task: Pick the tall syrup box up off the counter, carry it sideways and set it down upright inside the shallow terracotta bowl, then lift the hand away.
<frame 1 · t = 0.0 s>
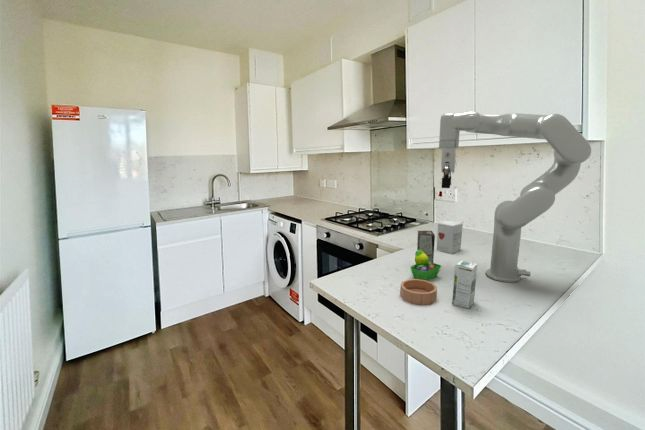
hand: (446, 186, 133), 37 cm above the countertop, tool pointing down, fingers open, 9 cm apart
bowl: (418, 296, 115), on the countertop
coffee box: (424, 267, 144), on the countertop
fruit basket: (423, 277, 132), on the countertop
supplement box: (448, 250, 166), on the countertop
syrup box: (463, 304, 110), on the countertop
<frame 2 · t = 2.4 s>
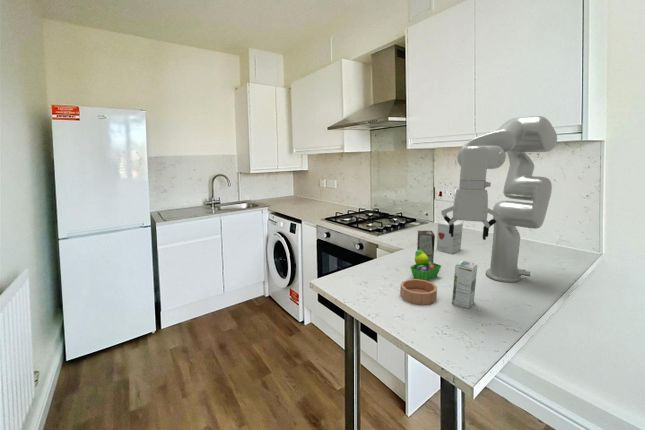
hand: (467, 237, 104), 24 cm above the countertop, tool pointing down, fingers open, 9 cm apart
nothing on the countertop moved.
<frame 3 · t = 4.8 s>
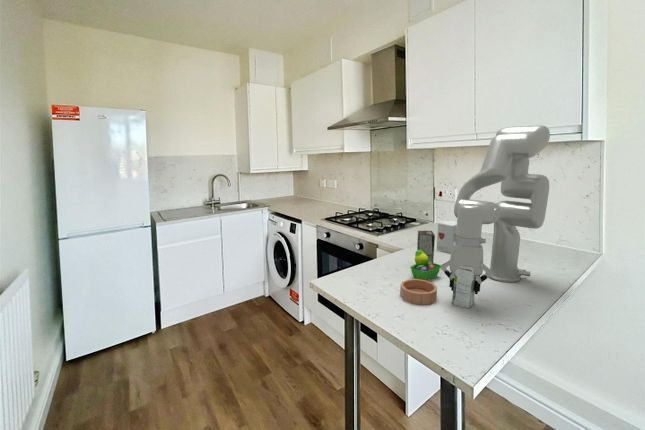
hand: (464, 290, 109), 5 cm above the countertop, tool pointing down, fingers closed on syrup box, 6 cm apart
syrup box: (463, 304, 110), on the countertop, touching gripper
everything else where it was.
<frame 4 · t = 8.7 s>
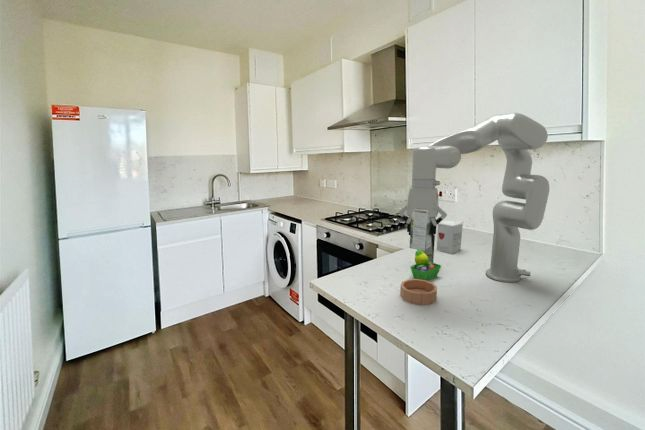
hand: (421, 234, 111), 23 cm above the countertop, tool pointing down, fingers closed on syrup box, 6 cm apart
syrup box: (420, 248, 112), point 18 cm above the countertop, touching gripper
everything else where it was.
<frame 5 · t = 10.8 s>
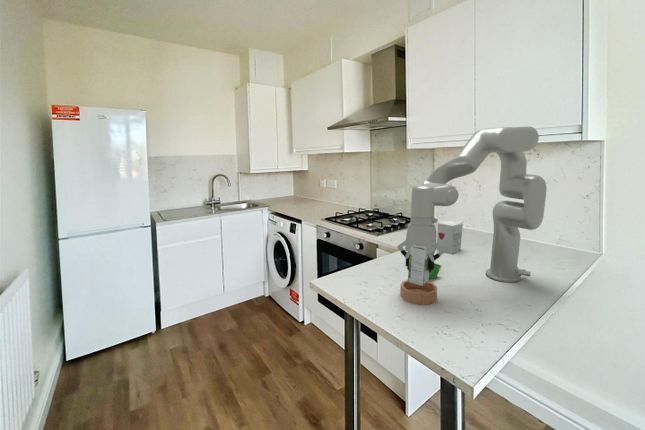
hand: (419, 269, 113), 10 cm above the countertop, tool pointing down, fingers closed on syrup box, 6 cm apart
syrup box: (418, 282, 114), point 5 cm above the countertop, touching gripper
everything else where it was.
when the fingers open (7 cm above the countertop, at t = 12.6 s): syrup box drops 1 cm, resting on bowl.
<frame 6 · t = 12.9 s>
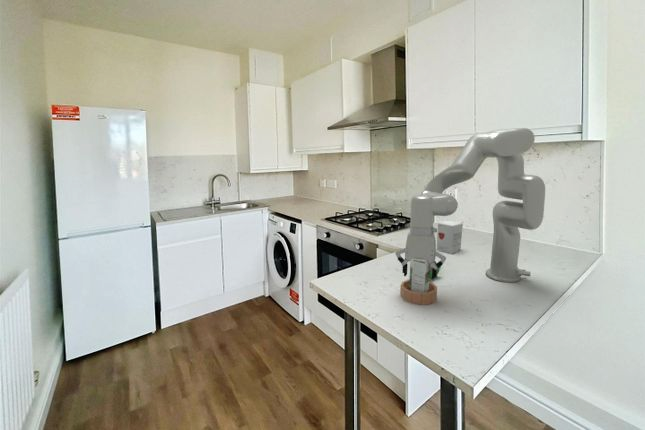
hand: (419, 276, 114), 8 cm above the countertop, tool pointing down, fingers open, 9 cm apart
syrup box: (419, 294, 115), point 1 cm above the countertop, touching bowl
everything else where it was.
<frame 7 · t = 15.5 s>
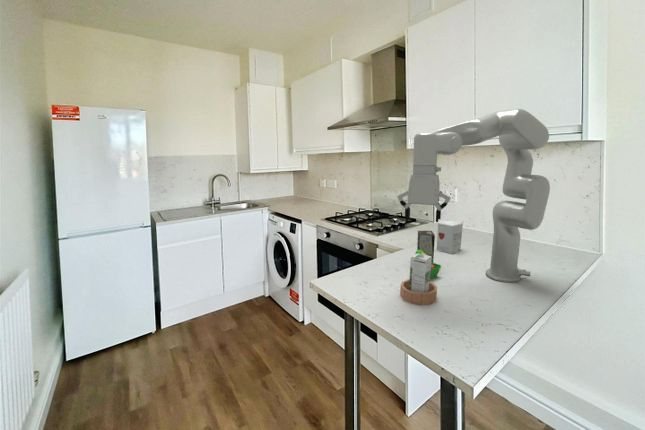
hand: (422, 220, 110), 28 cm above the countertop, tool pointing down, fingers open, 9 cm apart
nothing on the countertop moved.
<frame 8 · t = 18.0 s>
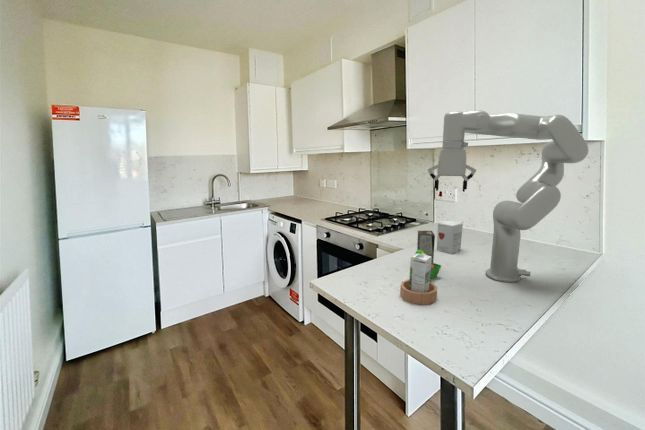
hand: (450, 190, 124), 36 cm above the countertop, tool pointing down, fingers open, 9 cm apart
nothing on the countertop moved.
at the end: syrup box 0.3 cm off-centre on the bowl, point 0.6 cm above the bowl's base; syrup box tilted 0°; the gripper is holding nothing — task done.
